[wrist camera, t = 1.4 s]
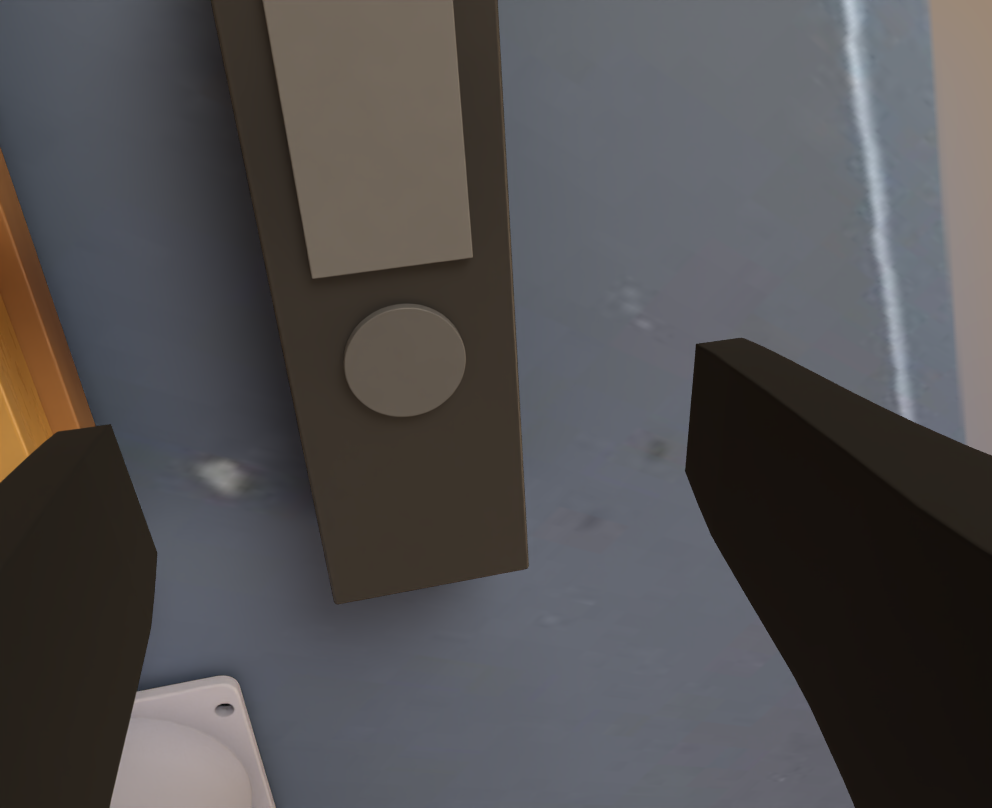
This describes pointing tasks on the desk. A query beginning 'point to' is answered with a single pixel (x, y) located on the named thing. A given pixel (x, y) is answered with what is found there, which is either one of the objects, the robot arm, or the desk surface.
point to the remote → (389, 275)
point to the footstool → (30, 346)
